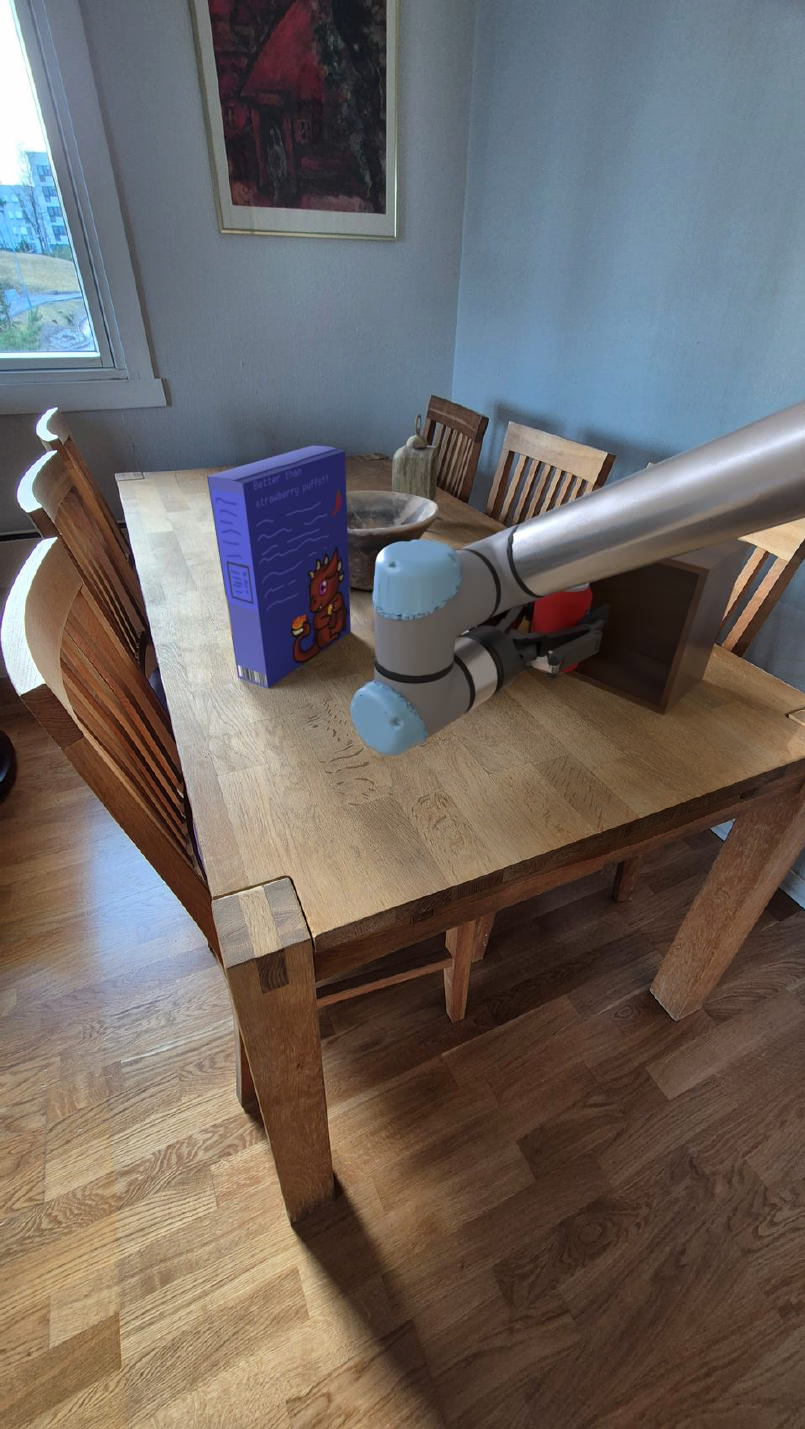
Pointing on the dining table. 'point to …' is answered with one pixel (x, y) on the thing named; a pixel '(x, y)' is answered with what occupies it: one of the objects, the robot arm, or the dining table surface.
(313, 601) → the cereal box
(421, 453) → the grey bell
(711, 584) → the cabinet
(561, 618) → the beverage can
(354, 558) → the bowl
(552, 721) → the dining table surface
